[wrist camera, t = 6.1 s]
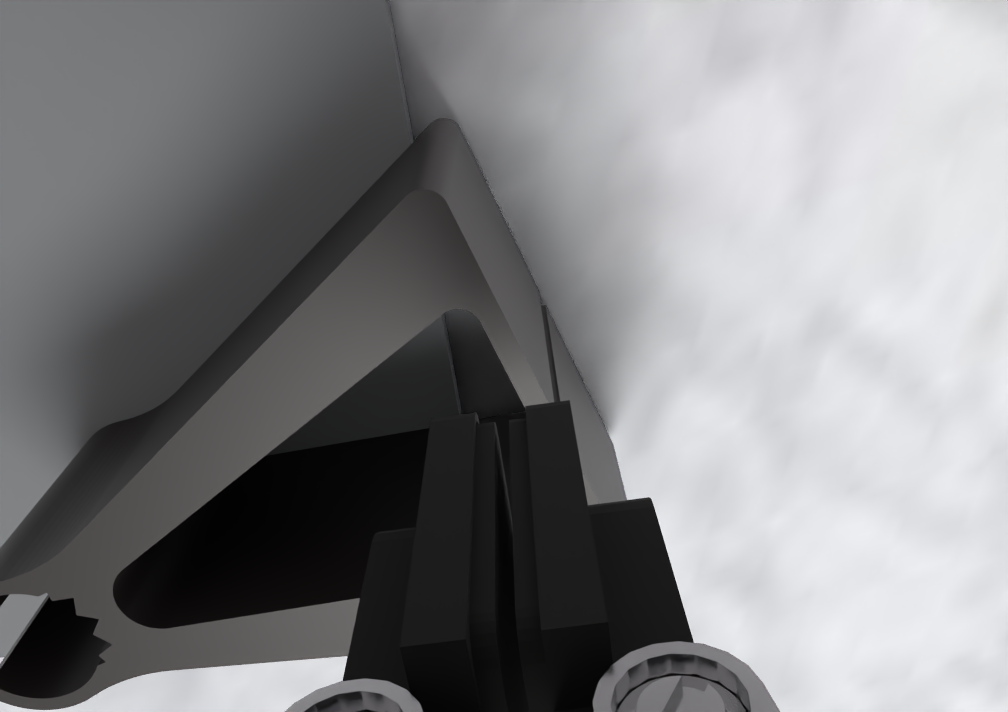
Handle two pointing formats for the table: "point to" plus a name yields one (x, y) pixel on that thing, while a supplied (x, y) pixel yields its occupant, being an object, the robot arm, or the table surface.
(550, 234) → the table surface
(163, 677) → the table surface
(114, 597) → the phone stand
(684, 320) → the table surface
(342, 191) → the mat
